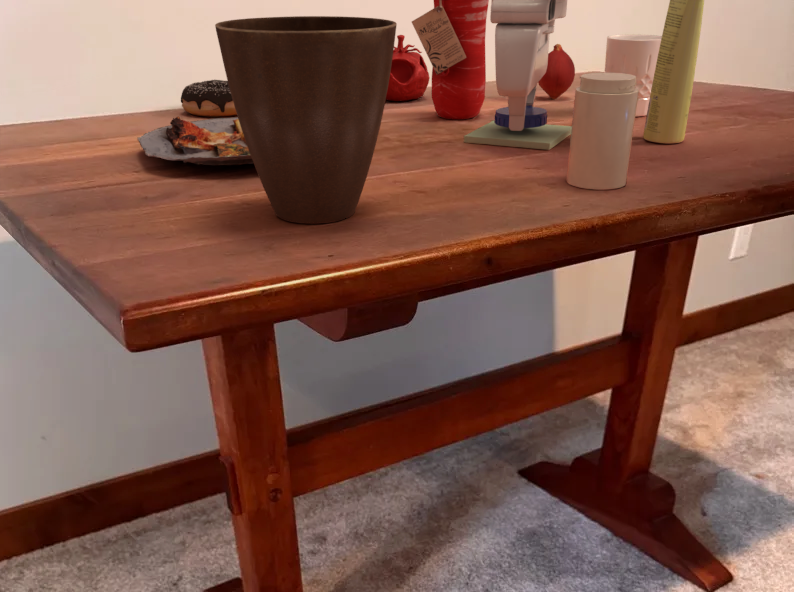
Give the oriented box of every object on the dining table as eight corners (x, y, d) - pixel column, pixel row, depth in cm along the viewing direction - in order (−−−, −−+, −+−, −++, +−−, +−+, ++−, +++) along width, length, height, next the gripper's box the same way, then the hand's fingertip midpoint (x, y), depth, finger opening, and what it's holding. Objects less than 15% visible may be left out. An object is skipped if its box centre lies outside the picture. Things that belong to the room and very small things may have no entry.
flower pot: (354, 184, 83) (348, 12, 75) (427, 221, 71) (430, 23, 63) (214, 204, 77) (192, 20, 69) (270, 248, 65) (251, 34, 57)
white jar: (631, 178, 83) (646, 73, 78) (619, 192, 79) (633, 82, 74) (574, 172, 86) (585, 70, 81) (559, 186, 81) (569, 78, 76)
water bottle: (444, 127, 107) (449, -91, 95) (401, 120, 112) (401, -89, 100) (499, 115, 115) (511, -89, 102) (457, 108, 120) (463, -87, 107)
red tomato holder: (354, 98, 129) (352, 35, 124) (400, 91, 134) (400, 30, 130) (396, 106, 122) (396, 39, 117) (442, 98, 128) (443, 34, 123)
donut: (171, 117, 116) (167, 88, 114) (202, 103, 126) (199, 76, 124) (244, 119, 114) (241, 89, 112) (269, 105, 125) (267, 77, 123)
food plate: (132, 140, 103) (127, 112, 101) (306, 126, 110) (305, 99, 108) (156, 187, 82) (150, 152, 81) (368, 165, 89) (367, 133, 88)
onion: (539, 95, 130) (543, 41, 126) (575, 96, 128) (580, 42, 124) (531, 100, 125) (535, 45, 121) (568, 102, 123) (574, 46, 119)
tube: (696, 140, 99) (728, -40, 89) (676, 147, 96) (707, -39, 86) (654, 134, 102) (680, -41, 92) (634, 140, 99) (659, -40, 89)
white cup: (666, 114, 114) (678, 37, 109) (625, 120, 111) (636, 41, 106) (627, 106, 120) (636, 33, 115) (587, 111, 117) (595, 36, 112)
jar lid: (487, 126, 99) (487, 113, 99) (504, 116, 104) (504, 104, 104) (538, 129, 97) (538, 117, 96) (552, 120, 102) (553, 107, 101)
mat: (573, 132, 104) (573, 126, 103) (549, 150, 95) (550, 143, 95) (493, 126, 108) (493, 120, 108) (463, 142, 99) (463, 135, 99)
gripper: (514, -4, 103) (508, 108, 110) (488, 6, 86) (482, 139, 93) (564, -4, 102) (554, 110, 109) (546, 7, 85) (536, 141, 92)
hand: (521, 123), depth 101 cm, fingers closed on jar lid, 6 cm apart
